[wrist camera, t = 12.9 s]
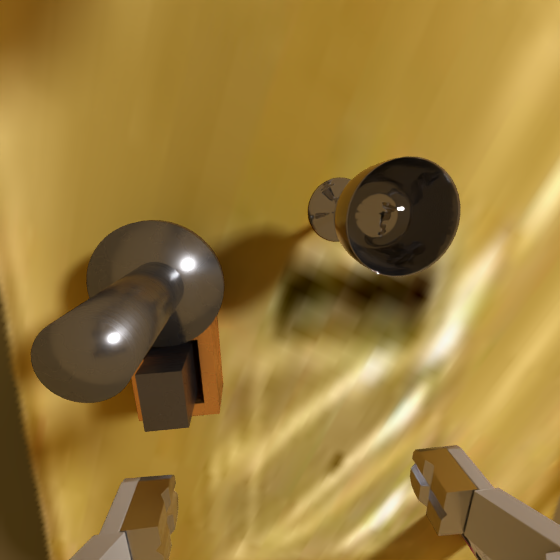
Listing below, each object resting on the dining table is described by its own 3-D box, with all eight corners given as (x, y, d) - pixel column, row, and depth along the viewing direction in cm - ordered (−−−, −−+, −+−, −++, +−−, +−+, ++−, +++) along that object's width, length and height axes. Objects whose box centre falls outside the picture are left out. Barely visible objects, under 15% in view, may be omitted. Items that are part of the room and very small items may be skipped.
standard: (109, 217, 32) (-92, 248, 13) (223, 214, 33) (193, 237, 14) (139, 391, 38) (30, 590, 19) (236, 382, 39) (226, 562, 20)
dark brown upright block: (164, 327, 36) (134, 374, 27) (198, 325, 36) (181, 371, 27) (170, 372, 38) (144, 431, 28) (203, 369, 38) (188, 427, 28)
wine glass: (386, 202, 35) (483, 205, 21) (344, 257, 36) (408, 298, 22) (333, 158, 33) (400, 128, 19) (290, 218, 34) (322, 234, 20)
